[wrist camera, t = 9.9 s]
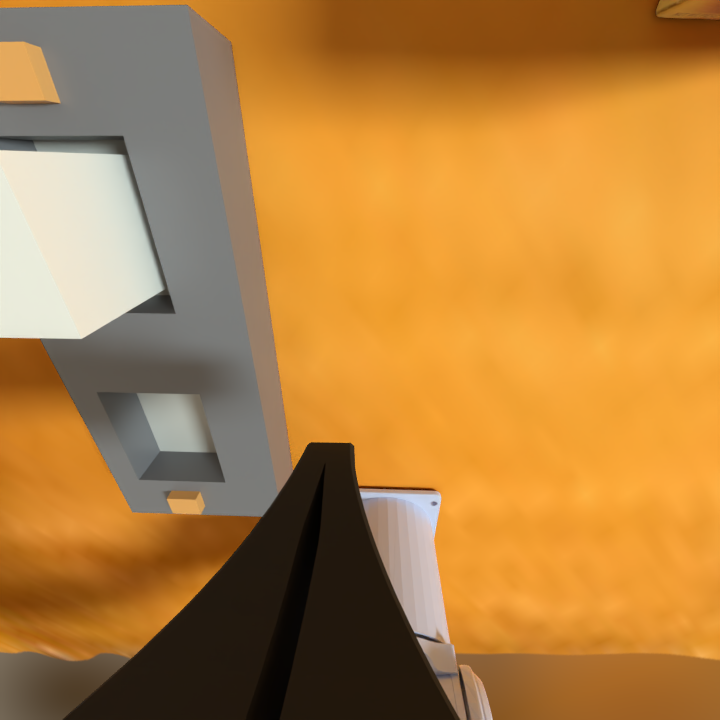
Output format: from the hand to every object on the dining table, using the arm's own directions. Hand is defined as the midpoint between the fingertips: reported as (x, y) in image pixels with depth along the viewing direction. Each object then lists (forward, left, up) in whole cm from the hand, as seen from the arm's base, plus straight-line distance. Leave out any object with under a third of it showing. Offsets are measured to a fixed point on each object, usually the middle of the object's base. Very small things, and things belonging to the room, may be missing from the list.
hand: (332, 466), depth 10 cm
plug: (+6, +10, -9) cm, 15 cm away
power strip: (0, +10, -10) cm, 14 cm away
